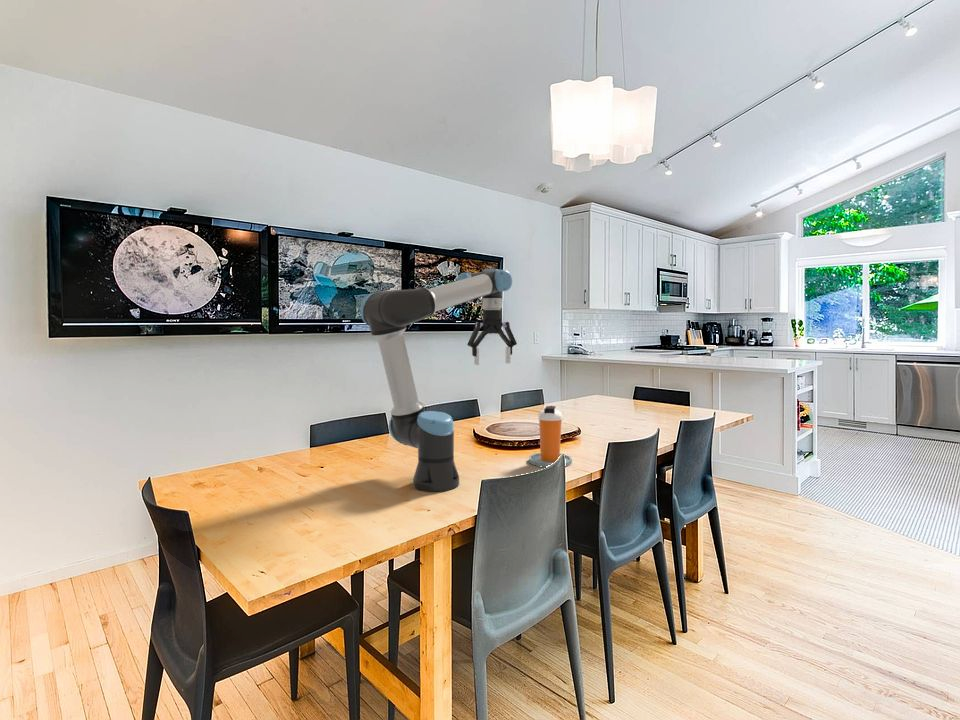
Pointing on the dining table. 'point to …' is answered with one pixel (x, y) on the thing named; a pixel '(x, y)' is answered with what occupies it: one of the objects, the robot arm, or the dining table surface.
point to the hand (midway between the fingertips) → (492, 364)
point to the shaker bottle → (550, 433)
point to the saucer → (536, 460)
